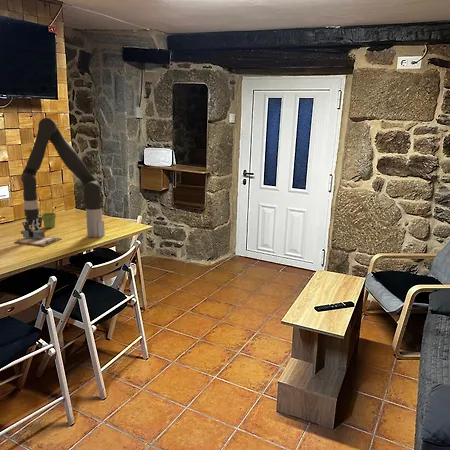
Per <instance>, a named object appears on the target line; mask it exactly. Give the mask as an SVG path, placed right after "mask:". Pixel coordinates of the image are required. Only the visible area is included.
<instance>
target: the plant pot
mask: <svg viewBox="0 0 450 450" xmlns="http://www.w3.org/2000/svg"><path fill="white" fill-rule="evenodd" d="M40 217H42V223H43V225H44V226H43V227H44V229H54V228H55V227H56V217H57V213H55V212H46V213H41V214H40Z"/></svg>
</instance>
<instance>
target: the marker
mask: <svg viewBox="0 0 450 450" xmlns="http://www.w3.org/2000/svg"><path fill="white" fill-rule="evenodd" d="M32 231H33V237H32V238H34V239H42V238H45V236H46V233H45V230H43V229H41V230H40V229H39V230H34V229H33V230H32ZM20 234H21V235H22V237H23V238H31V237H29V233H28V231H25V229H23V230H22V231H20Z"/></svg>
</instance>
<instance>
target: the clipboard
mask: <svg viewBox="0 0 450 450" xmlns="http://www.w3.org/2000/svg"><path fill="white" fill-rule="evenodd" d="M61 240H62V238H60V237H54V236H53V237H51V236H46V235H45V238H42V239H34V238H26V237H23V238H21V239H18V240H16V241H14V244H19V245H21V244H22V245H26V246H27V245H28V246H34V247H47V246H49V245H51V244H53V243H56V242H59V241H61Z"/></svg>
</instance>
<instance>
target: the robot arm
mask: <svg viewBox="0 0 450 450" xmlns="http://www.w3.org/2000/svg"><path fill="white" fill-rule="evenodd" d="M37 127H38V128H37V134H36V138H35V142H34V143H33V147H32V149H31V151H30V154H29V157H28V160H27V163H26V165H25V167H24V170H23V171H22V174H21V177H20V179H21V180H20V181H21V182H22V187H23V191H22V192H23V193H22V195H23V197H22V198H23V210H24V211H23V212H24V216H25V221H22V225H23V228H24V229H23V230H25V231H28V233H29V237H31V238H32V237H33V231H32V230H40V228H41V227H42V223H43V219H42V216H40V210H39V209H40V208H39V201H38V194H37V178H36V176H37V173H38V171H39V170H40V168H41V166H42V163H43V160H44V157H45V154H46V149H47V146H48V144H49V142H50V143H51V144H52V145H53V147H54V149H55V152H56V153H57V155H58V156H59V158H60V159H61V161H62V162H63V163H64V165H65V166H66V168H67V169H68V170H69V171H70V172H71V173H73V174H74V175H75V176H76V177H77V178H78V179H79V181H80V182H81V184H82V186H83V199H84V205H85V216H86V217H85V219H86V234H87V237H88V238H91V239H92V238H94V239H95V238H101V237H103V236H105V234H106V232H105V220H104V219H103V207H102V206H103V205H102V202H101V201H102V200H101V191H102V186H101V184H100V183H99V181H98V180H97V179H96V178H95V177H94V176H93V175H92V173H91V172H90V171H89V169H88V168H87V166H86V164H85V163H84V161H83V159H81V157H80V155H79V154H78V153H77V151H76V150H75V149H74V148H73V146H72V145H71V144H70V143H69V142H68V141H67V140H66V139H65V137H64V136H63V134H62V133H61V131H60V129H59V128H58V126H57V123H56V122H55V120H53V119H52V118H50V117H45V118H42V119H40V120H39V122H38V126H37Z"/></svg>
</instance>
